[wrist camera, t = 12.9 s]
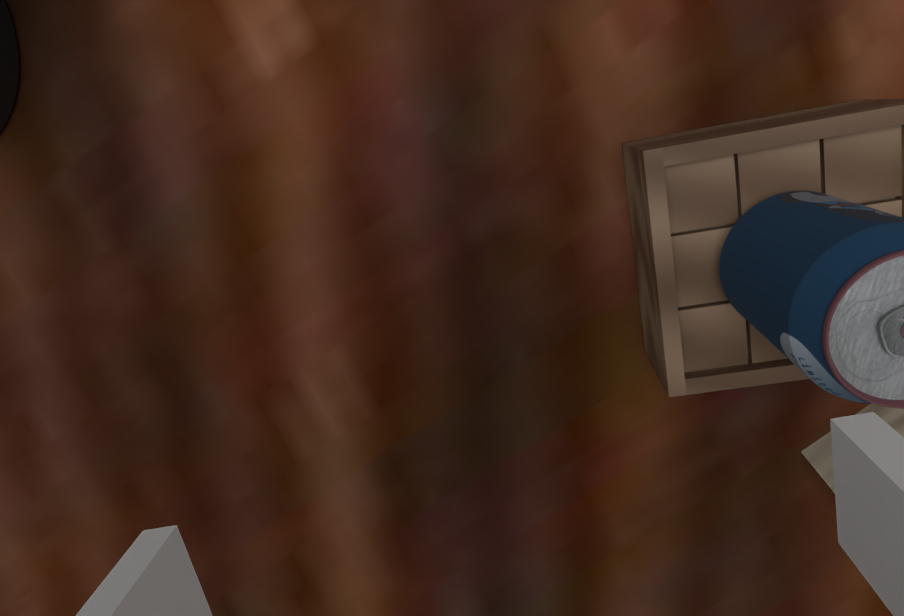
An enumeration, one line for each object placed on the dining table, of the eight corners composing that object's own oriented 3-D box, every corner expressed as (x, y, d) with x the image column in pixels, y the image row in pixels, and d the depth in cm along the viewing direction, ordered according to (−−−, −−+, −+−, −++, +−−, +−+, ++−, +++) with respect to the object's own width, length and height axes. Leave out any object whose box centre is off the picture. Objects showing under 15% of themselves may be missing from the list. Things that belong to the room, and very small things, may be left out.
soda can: (737, 341, 36) (841, 452, 25) (692, 222, 35) (780, 281, 23) (872, 289, 35) (1047, 381, 23) (830, 163, 33) (997, 196, 22)
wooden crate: (621, 142, 40) (642, 151, 33) (860, 99, 38) (932, 99, 31) (645, 352, 43) (669, 397, 36) (864, 321, 41) (931, 363, 35)
